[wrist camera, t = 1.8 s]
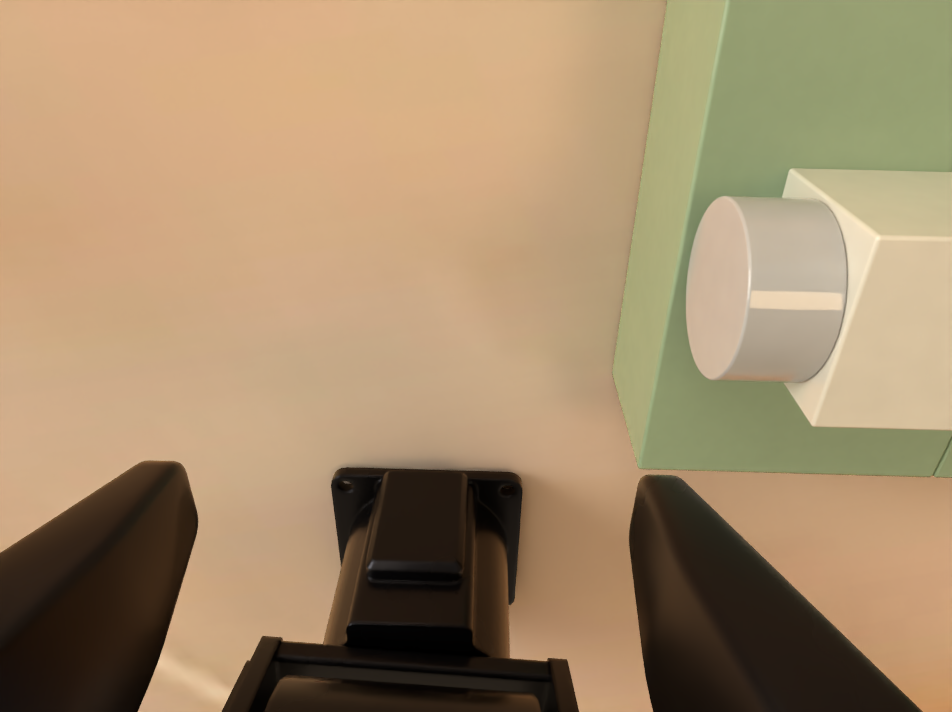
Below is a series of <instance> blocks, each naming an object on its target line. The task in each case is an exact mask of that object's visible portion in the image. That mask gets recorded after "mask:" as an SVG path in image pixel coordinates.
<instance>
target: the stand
mask: <svg viewBox="0 0 952 712" xmlns="http://www.w3.org/2000/svg"><path fill="white" fill-rule="evenodd" d="M792 168H802V169H843V170H885V171H926V172H952V0H667V6H666V13H665V19H664V26H663V33H662V40H661V46H660V53H659V60H658V67H657V73H656V80H655V87H654V94H653V100H652V107H651V114H650V121H649V127H648V134H647V141H646V148H645V154H644V161H643V168H642V175H641V181H640V188H639V195H638V202H637V208H636V215H635V222H634V229H633V235H632V242H631V249H630V256H629V262H628V269H627V276H626V282H625V289H624V296H623V303H622V309H621V316H620V323H619V330H618V336H617V343H616V350H615V357H614V363H613V370H612V375H613V378H614V382H615V386H616V389H617V393H618V397H619V400H620V404H621V407H622V411H623V415H624V418H625V422H626V425H627V429H628V433H629V436H630V440H631V444H632V447H633V451H634V454H635V458H636V462H637V465H638V468H640V469H657V470H693V471H729V472H765V473H800V474H836V475H872V476H908V477H931V476H934V477H943V478H952V431H946V430H910V429H874V428H837V427H814V426H812V425H811V424H810V423H809V421H808V420H807V418H806V417H805V415H804V414H803V412H802V411H801V409H800V408H799V406H798V405H797V403H796V402H795V400H794V399H793V397H792V396H791V394H790V393H789V391H788V389H787V388H786V386H785V385H784V383H775V382H738V381H712V380H709V379H707V378H705V377H704V376H703V375H702V374H701V373H700V371H699V370H698V368H697V366H696V364H695V361H694V359H693V355H692V352H691V348H690V344H689V338H688V332H687V322H686V285H687V274H688V267H689V261H690V255H691V250H692V246H693V242H694V238H695V235H696V232H697V229H698V226H699V224H700V221H701V219H702V217H703V215H704V213H705V211H706V210H707V208H708V207H709V205H710V204H711V203H712V202H713V201H714V200H715V199H717V198H719V197H721V196H763V197H782V195H783V191H784V187H785V183H786V180H787V176H788V172H789V170H790V169H792Z"/></svg>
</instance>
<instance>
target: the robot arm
mask: <svg viewBox="0 0 952 712" xmlns="http://www.w3.org/2000/svg"><path fill="white" fill-rule="evenodd" d="M342 481H348V482H350V483H352V484H345V483H344V482H342ZM507 485H508V486H512V488H508V489H506V488H503V486H507ZM331 488H332V496H333V504H334V512H335V520H336V528H337V536H338V544H339V552H340V560H341V571H340V575H339V579H338V584H337V588H336V592H335V596H334V600H333V604H332V608H331V613H330V617H329V621H328V625H327V629H326V633H325V638H324V642H323V644H316V643H303V642H290V641H283V639H282V638H281V637H268V636H262V638H261V640H260V642H259V644H258V646H257V648H256V650H255V652H254V654H253V656H252V658H251V660H250V661H247V662H246V664H245V666H244V668H243V670H242V672H241V674H240V676H239V678H238V680H237V682H236V684H235V686H234V688H233V690H232V692H231V694H230V696H229V698H228V700H227V702H226V704H225V706H224V708H223V710H222V712H579V710H578V705H577V701H576V697H575V692H574V688H573V683H572V679H571V675H570V670H569V666H568V661H567V659H554V658H548V659H547V661H537V660H524V659H511V658H510V646H509V605H511V604H512V603H513V602H514V599H515V586H516V572H517V558H518V545H519V531H520V517H521V504H522V481H521V478H520V477H519V476H518V475H516V474H514V473H511V472H489V471H454V470H418V469H383V468H341V469H339V470H337V471H336V472H335V474H334V476H333V480H332V484H331ZM197 529H198V515H197V510H196V506H195V503H194V499H193V495H192V492H191V488H190V484H189V481H188V477H187V473H186V471H185V468H184V467H183V466H182V464H180V463H178V462H175V461H143V462H141V463H139V464H137V465H135V466H134V467H132V468H131V469H129V470H128V471H126V472H124V473H123V474H121V475H120V476H118V477H117V478H115V479H114V480H112V481H111V482H109V483H108V484H106V485H104V486H103V487H101V488H100V489H98V490H97V491H95V492H94V493H92V494H91V495H89V496H88V497H86V498H84V499H83V500H81V501H80V502H78V503H77V504H75V505H74V506H72V507H71V508H69V509H67V510H66V511H64V512H63V513H61V514H60V515H58V516H57V517H55V518H54V519H52V520H51V521H49V522H47V523H46V524H44V525H43V526H41V527H40V528H38V529H37V530H35V531H34V532H32V533H30V534H29V535H27V536H26V537H24V538H23V539H21V540H20V541H18V542H17V543H15V544H14V545H12V546H10V547H9V548H7V549H6V550H4V551H3V552H1V553H0V712H138V709H139V707H140V705H141V702H142V700H143V698H144V695H145V693H146V690H147V688H148V686H149V683H150V681H151V678H152V676H153V673H154V670H155V668H156V665H157V663H158V660H159V657H160V654H161V651H162V648H163V645H164V642H165V638H166V635H167V632H168V628H169V625H170V622H171V618H172V615H173V612H174V608H175V605H176V602H177V598H178V595H179V592H180V588H181V585H182V582H183V578H184V575H185V572H186V568H187V565H188V562H189V558H190V555H191V551H192V548H193V545H194V541H195V538H196V534H197ZM629 546H630V555H631V563H632V572H633V580H634V588H635V597H636V605H637V613H638V621H639V630H640V638H641V646H642V654H643V661H644V668H645V675H646V680H647V685H648V690H649V695H650V700H651V704H652V708H653V712H923V711H922V710H920V709H919V708H918V707H917V706H916V705H915V704H914V703H913V702H912V701H911V700H910V699H909V698H908V697H907V696H906V695H905V694H904V693H903V692H902V691H901V690H900V689H899V688H898V687H897V686H896V685H895V684H894V683H893V682H891V681H890V680H889V679H888V678H887V677H886V676H885V675H884V674H883V673H882V672H881V671H880V670H879V669H878V668H877V667H876V666H875V665H874V664H873V663H872V662H871V661H870V660H869V659H868V658H867V657H866V656H865V655H864V654H862V653H861V652H860V651H859V650H858V649H857V648H856V647H855V646H854V645H853V644H852V643H851V642H850V641H849V640H848V639H847V638H846V637H845V636H844V635H843V634H842V633H841V632H840V631H839V630H838V629H837V628H836V627H835V626H834V625H832V624H831V623H830V622H829V621H828V620H827V619H826V618H825V617H824V616H823V615H822V614H821V613H820V612H819V611H818V610H817V609H816V608H815V607H814V606H813V605H812V604H811V603H810V602H809V601H808V600H807V599H806V598H805V597H803V596H802V595H801V594H800V593H799V592H798V591H797V590H796V589H795V588H794V587H793V586H792V585H791V584H790V583H789V582H788V581H787V580H786V579H785V578H784V577H783V576H782V575H781V574H780V573H779V572H778V571H777V570H776V569H775V568H773V567H772V566H771V565H770V564H769V563H768V562H767V561H766V560H765V559H764V558H763V557H762V556H761V555H760V554H759V553H758V552H757V551H756V550H755V549H754V548H753V547H752V546H751V545H750V544H749V543H748V542H747V541H746V540H744V539H743V538H742V537H741V536H740V535H739V534H738V533H737V532H736V531H735V530H734V529H733V528H732V527H731V526H730V525H729V524H728V523H727V522H726V521H725V520H724V519H723V518H722V517H721V516H720V515H719V514H718V513H717V512H716V511H714V510H713V509H712V508H711V507H710V506H709V505H708V504H707V503H706V502H705V501H704V500H703V499H702V498H701V497H700V496H699V495H698V494H697V493H696V492H695V491H694V490H693V489H692V488H691V487H690V486H689V485H688V484H687V483H685V482H684V481H683V480H682V479H681V478H679V477H677V476H672V475H645V476H643V477H642V478H641V479H640V481H639V483H638V487H637V493H636V498H635V503H634V508H633V513H632V518H631V524H630V531H629Z"/></svg>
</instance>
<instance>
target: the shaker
mask: <svg viewBox="0 0 952 712" xmlns="http://www.w3.org/2000/svg"><path fill="white" fill-rule="evenodd" d="M686 322H687V332H688V338H689V344H690V348H691V352H692V355H693V359H694V361H695V364H696V366H697V368H698V370H699V371H700V373H701V374H702V375H703V376H704V377H705V378H707V379H709V380H712V381H738V382H775V383H784V385H785V386H786V388H787V389H788V391H789V393H790V394H791V396H792V397H793V399H794V400H795V402H796V403H797V405H798V406H799V408H800V409H801V411H802V412H803V414H804V415H805V417H806V418H807V420H808V421H809V423H810V424H811V425H812V426H814V427H837V428H874V429H910V430H946V431H952V172H926V171H885V170H843V169H802V168H792V169H790V170H789V172H788V176H787V180H786V183H785V187H784V191H783V195H782V197H763V196H721V197H719V198H717V199H715V200H714V201H713V202H712V203H711V204H710V205H709V207H708V208H707V210H706V211H705V213H704V215H703V217H702V219H701V221H700V224H699V226H698V229H697V232H696V235H695V238H694V242H693V246H692V250H691V255H690V261H689V267H688V274H687V285H686Z"/></svg>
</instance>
